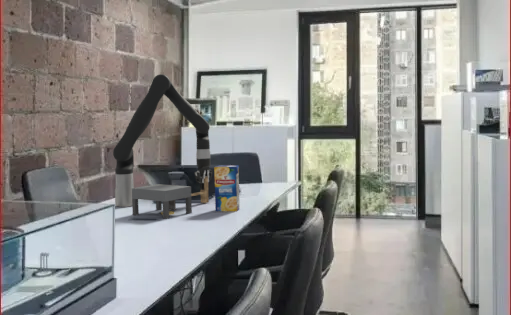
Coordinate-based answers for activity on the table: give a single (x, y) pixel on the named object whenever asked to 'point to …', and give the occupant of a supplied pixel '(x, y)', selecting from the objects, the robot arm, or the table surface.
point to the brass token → (169, 212)
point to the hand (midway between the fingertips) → (204, 189)
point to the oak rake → (203, 195)
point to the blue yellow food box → (227, 188)
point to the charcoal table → (161, 197)
